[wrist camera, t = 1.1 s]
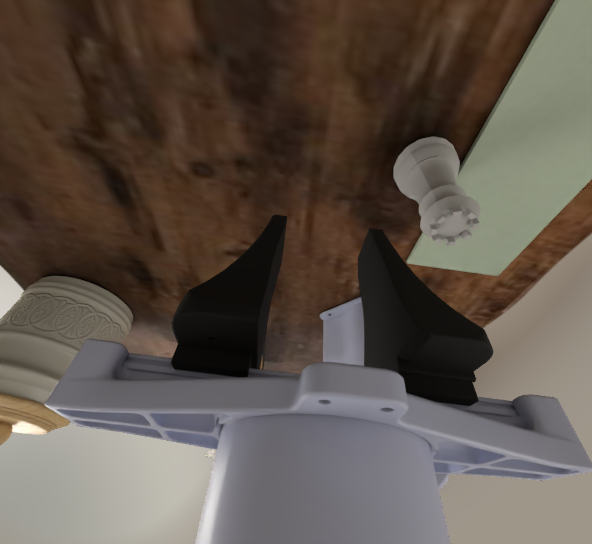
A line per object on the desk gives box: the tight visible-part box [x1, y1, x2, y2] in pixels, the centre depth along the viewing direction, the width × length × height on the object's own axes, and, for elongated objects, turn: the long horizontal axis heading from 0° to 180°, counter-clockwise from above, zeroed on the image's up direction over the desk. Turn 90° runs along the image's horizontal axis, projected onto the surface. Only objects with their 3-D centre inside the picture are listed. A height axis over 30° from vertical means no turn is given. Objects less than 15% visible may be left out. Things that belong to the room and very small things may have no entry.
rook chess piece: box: [394, 137, 481, 246], centre depth 19 cm, size 4×4×8 cm
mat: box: [406, 0, 592, 276], centre depth 22 cm, size 20×10×1 cm, turn 173°
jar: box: [0, 276, 133, 445], centre depth 34 cm, size 13×13×18 cm
